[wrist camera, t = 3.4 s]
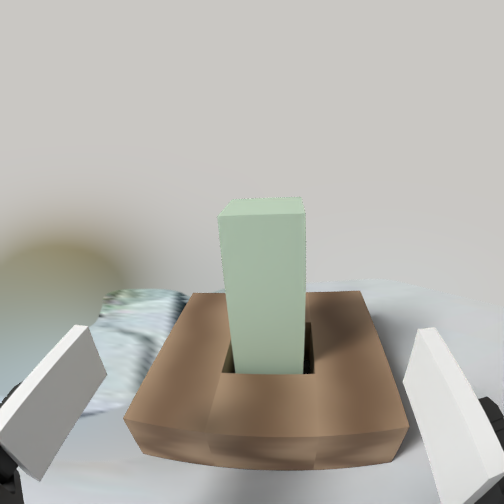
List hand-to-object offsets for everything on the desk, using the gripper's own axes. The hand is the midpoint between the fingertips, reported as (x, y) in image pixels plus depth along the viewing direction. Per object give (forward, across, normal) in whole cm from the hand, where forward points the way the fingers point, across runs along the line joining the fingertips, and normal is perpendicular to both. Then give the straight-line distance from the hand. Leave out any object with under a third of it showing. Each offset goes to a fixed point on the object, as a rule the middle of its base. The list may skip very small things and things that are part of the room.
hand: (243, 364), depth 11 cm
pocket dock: (+9, 0, -10) cm, 13 cm away
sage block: (+9, 0, -10) cm, 13 cm away
